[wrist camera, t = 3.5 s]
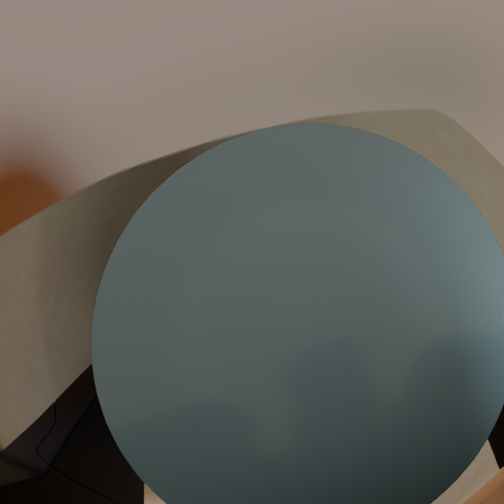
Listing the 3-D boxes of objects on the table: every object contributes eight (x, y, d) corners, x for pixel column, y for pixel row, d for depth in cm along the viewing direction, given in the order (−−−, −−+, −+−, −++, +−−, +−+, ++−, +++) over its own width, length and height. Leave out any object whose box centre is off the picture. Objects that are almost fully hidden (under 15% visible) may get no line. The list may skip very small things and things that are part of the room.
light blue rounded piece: (348, 341, 14) (545, 305, 2) (277, 413, 13) (319, 586, 1) (278, 274, 16) (316, 79, 4) (206, 342, 14) (29, 316, 3)
